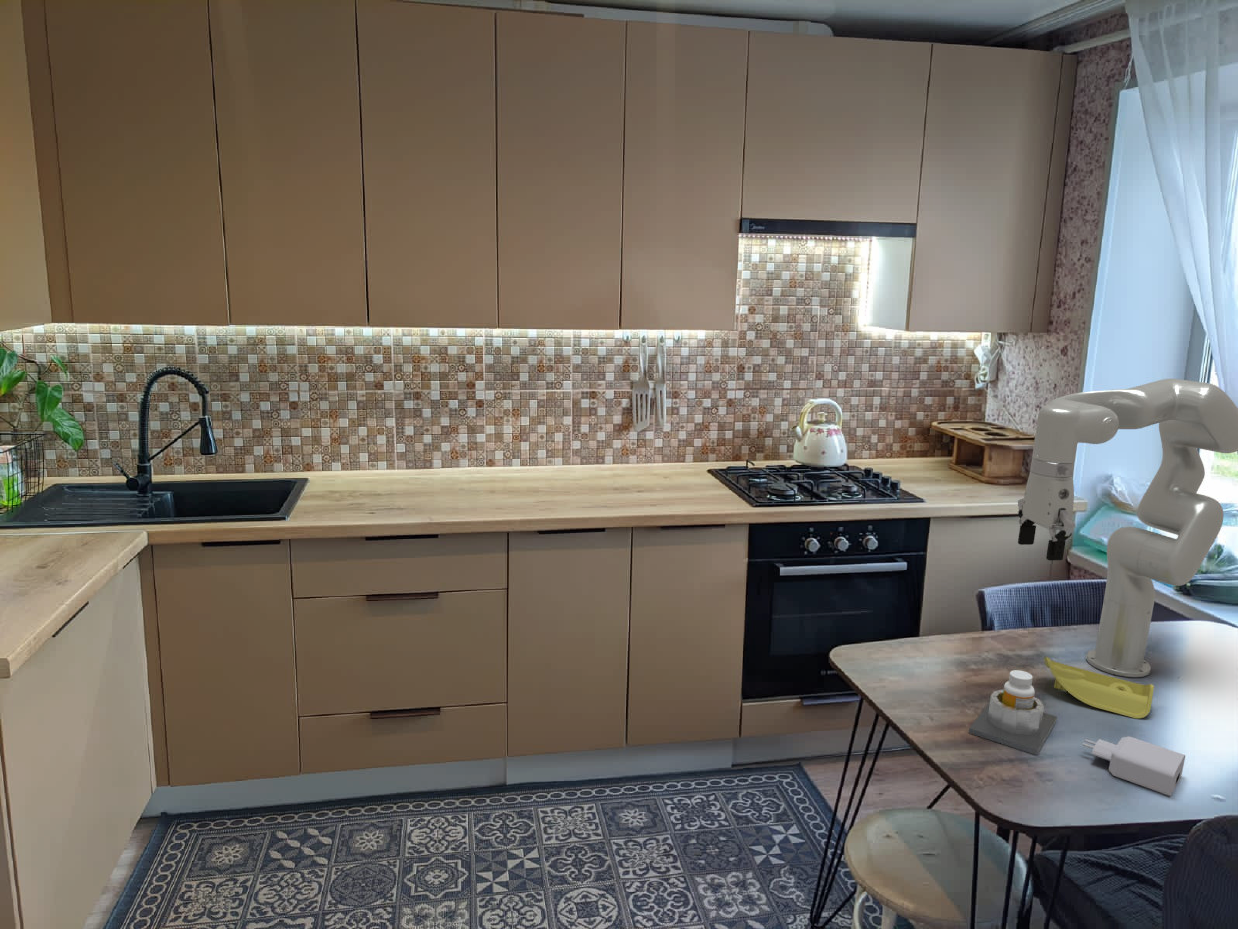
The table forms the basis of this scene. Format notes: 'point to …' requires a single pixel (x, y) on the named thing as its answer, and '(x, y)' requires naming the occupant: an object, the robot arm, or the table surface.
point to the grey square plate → (1014, 724)
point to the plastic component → (1103, 690)
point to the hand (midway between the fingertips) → (1039, 551)
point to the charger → (1141, 763)
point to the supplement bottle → (1019, 691)
